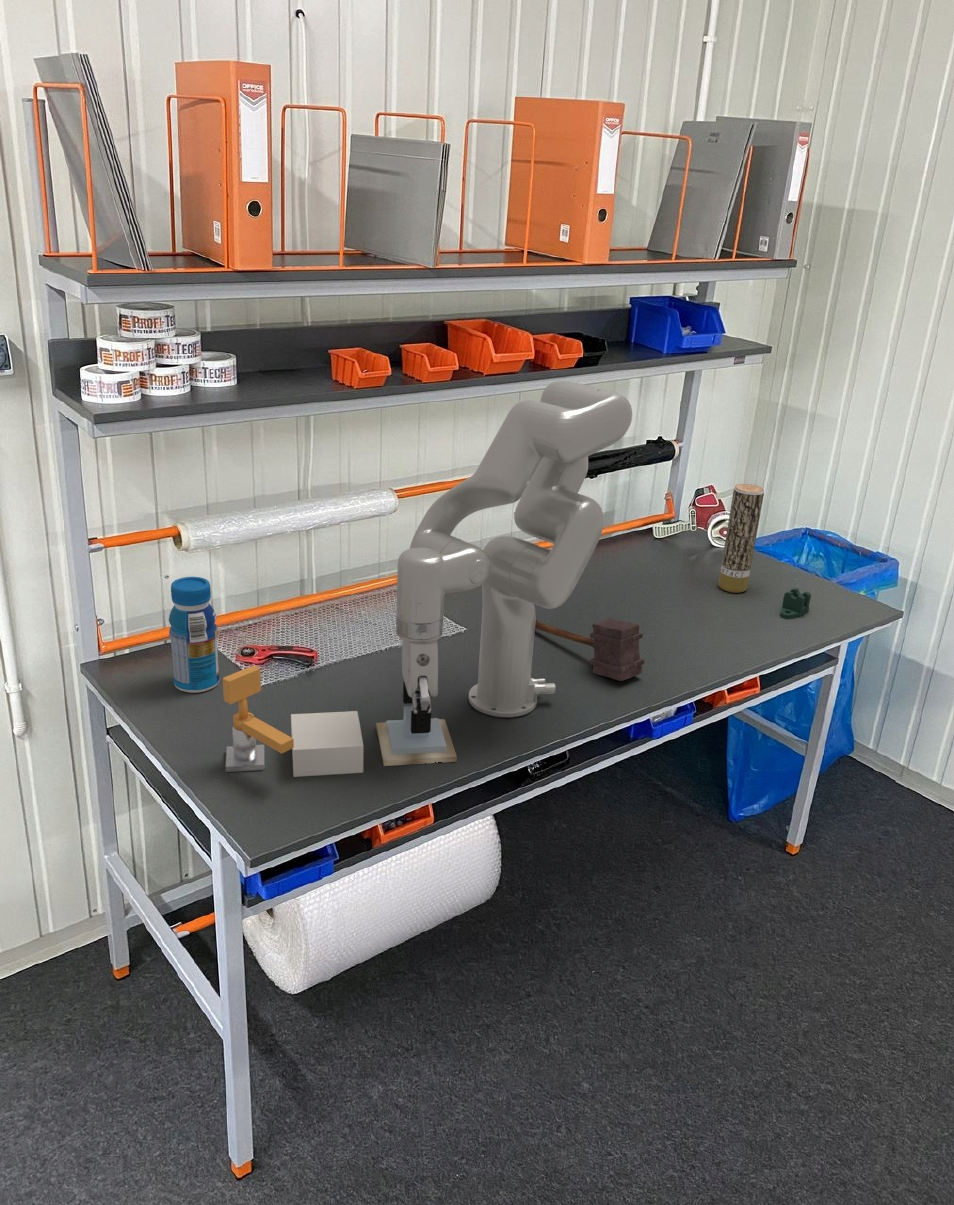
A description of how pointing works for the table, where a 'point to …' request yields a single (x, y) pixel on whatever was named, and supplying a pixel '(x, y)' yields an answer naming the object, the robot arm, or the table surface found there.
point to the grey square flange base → (244, 753)
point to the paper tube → (741, 537)
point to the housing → (326, 743)
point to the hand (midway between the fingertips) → (416, 717)
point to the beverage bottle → (193, 636)
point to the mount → (795, 604)
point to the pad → (414, 758)
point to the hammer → (609, 647)
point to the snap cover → (414, 736)
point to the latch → (239, 690)
